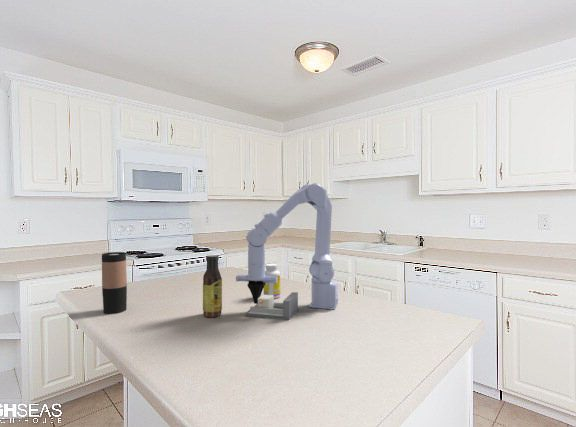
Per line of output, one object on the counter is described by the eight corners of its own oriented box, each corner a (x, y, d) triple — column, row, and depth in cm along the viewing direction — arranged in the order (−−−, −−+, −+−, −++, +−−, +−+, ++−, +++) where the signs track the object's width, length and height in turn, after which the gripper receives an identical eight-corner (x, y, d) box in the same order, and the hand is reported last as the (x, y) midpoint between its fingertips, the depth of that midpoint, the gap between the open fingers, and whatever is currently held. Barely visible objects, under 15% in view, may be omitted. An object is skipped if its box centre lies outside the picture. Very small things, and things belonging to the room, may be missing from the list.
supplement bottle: (281, 294, 139) (281, 263, 138) (279, 299, 132) (279, 266, 132) (265, 294, 139) (264, 263, 139) (262, 299, 133) (261, 266, 132)
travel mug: (97, 312, 117) (96, 254, 117) (117, 306, 124) (116, 251, 123) (112, 315, 114) (110, 255, 113) (132, 309, 121) (131, 252, 120)
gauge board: (297, 309, 119) (297, 292, 119) (289, 319, 109) (289, 301, 108) (257, 306, 123) (257, 289, 123) (245, 315, 113) (245, 297, 113)
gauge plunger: (273, 306, 119) (273, 295, 118) (266, 314, 111) (266, 301, 111) (262, 305, 120) (262, 294, 119) (254, 313, 112) (254, 300, 112)
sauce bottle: (217, 318, 110) (216, 257, 110) (199, 317, 111) (198, 256, 111) (225, 312, 117) (224, 254, 116) (208, 311, 118) (207, 253, 117)
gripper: (280, 262, 119) (280, 301, 120) (241, 260, 123) (241, 298, 123) (274, 266, 112) (274, 307, 113) (233, 264, 116) (233, 304, 116)
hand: (256, 302), depth 118 cm, fingers closed
